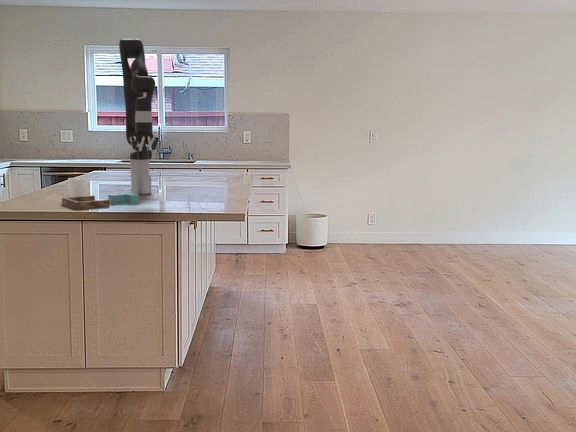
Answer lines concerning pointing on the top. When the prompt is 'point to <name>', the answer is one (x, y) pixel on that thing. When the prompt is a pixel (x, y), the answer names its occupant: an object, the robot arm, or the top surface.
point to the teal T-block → (123, 198)
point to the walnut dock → (84, 202)
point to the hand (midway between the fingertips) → (144, 159)
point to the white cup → (77, 187)
